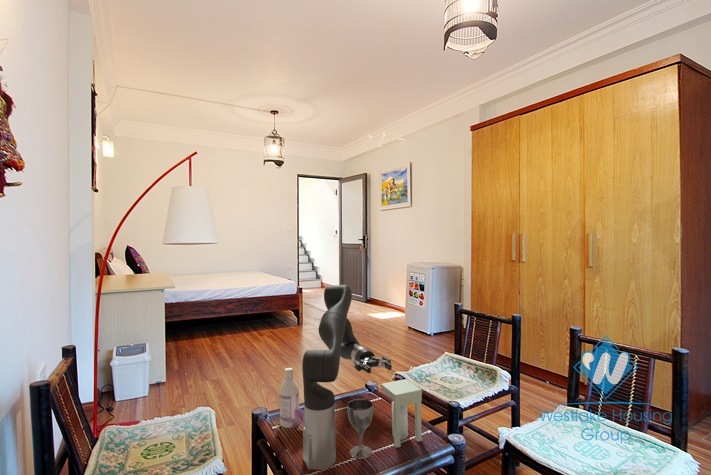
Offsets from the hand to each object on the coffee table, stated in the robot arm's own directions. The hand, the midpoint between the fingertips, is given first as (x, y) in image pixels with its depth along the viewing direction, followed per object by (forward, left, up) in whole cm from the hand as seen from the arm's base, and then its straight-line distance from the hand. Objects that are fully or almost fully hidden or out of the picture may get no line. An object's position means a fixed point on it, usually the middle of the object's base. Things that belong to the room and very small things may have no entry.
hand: (380, 369), depth 136 cm
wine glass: (-16, -17, -18) cm, 30 cm away
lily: (-29, +2, -18) cm, 35 cm away
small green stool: (0, -15, -18) cm, 24 cm away
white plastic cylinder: (0, -14, -18) cm, 23 cm away
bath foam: (-32, +10, -18) cm, 38 cm away
